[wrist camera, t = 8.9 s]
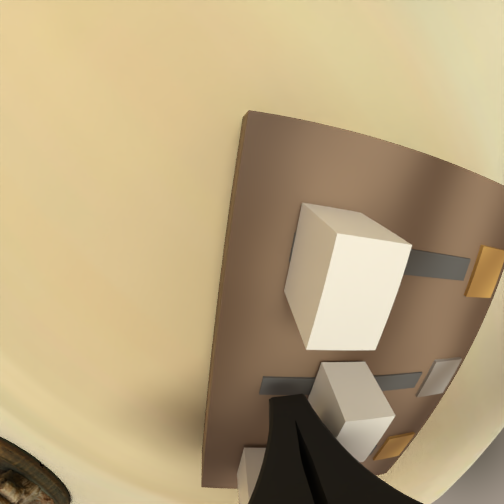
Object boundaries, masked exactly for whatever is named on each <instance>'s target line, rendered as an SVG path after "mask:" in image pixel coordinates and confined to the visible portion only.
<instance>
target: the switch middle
mask: <svg viewBox="0 0 504 504" xmlns="http://www.w3.org/2000/svg"><path fill="white" fill-rule="evenodd" d="M308 401H309V403H310V405H311V406H312V408H313V409H314V411H315V412H316V414H317V415H318V416H319V418H320V419H321V421H322V422H323V423H324V425H325V426H326V427H327V428H328V430H329V431H330V432H331V433H332V434H333V436H334V437H335V438H336V439H337V440H338V441H339V442H340V444H341V445H342V446H343V447H344V448H345V449H346V450H347V451H348V452H349V453H350V454H351V455H352V456H353V457H354V458H355V459H356V460H357V461H359V462H364V461H365V460H366V458H367V457H368V456H369V454H370V453H371V451H372V450H373V449H374V447H375V446H376V444H377V443H378V441H379V440H380V439H381V437H382V436H383V434H384V433H385V431H386V430H387V428H388V427H389V425H390V423H391V422H392V420H393V419H394V417H395V416H396V415H395V414H394V412H393V410H392V408H391V406H390V405H389V403H388V401H387V399H386V397H385V396H384V394H383V392H382V390H381V388H380V387H379V385H378V383H377V381H376V380H375V378H374V376H373V374H372V373H371V371H370V369H369V367H368V366H367V364H366V362H321V365H320V368H319V371H318V373H317V376H316V379H315V382H314V384H313V387H312V390H311V392H310V395H309V398H308Z"/></svg>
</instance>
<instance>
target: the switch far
mask: <svg viewBox="0 0 504 504" xmlns="http://www.w3.org/2000/svg"><path fill="white" fill-rule="evenodd" d="M265 450H266V448H245V447H244V450H243V453H242V457H241V461H240V465H239V468H238V472H237V482H238V495H239V504H248V502H249V500H250V498H251V495H252V493H253V490H254V487H255V485H256V482H257V479H258V476H259V473H260V469H261V466H262V462H263V458H264V454H265Z"/></svg>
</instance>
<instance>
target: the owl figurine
mask: <svg viewBox="0 0 504 504" xmlns="http://www.w3.org/2000/svg"><path fill="white" fill-rule="evenodd" d="M42 467H43V468H42ZM42 467H41V466H40V462H39V461H38V460H37V459H36V458H34V457H33V456H32V455H30V454H29V453H27V452H26V451H24V450H22V449H20V448H19V447H18V446H16V445H14V444H12V443H10V442H9V441H7V440H5V439H3V438H1V437H0V504H70V501H71V500H70V495H69V492H68V491H67V489H66V487H65V486H64V484H63V483H62V482H61V481H60V479H59V478H58V477H57V476H56V475H55V474H54V473H53V472H51V471H50V470H49V469H48V468H47V467H45V466H42Z"/></svg>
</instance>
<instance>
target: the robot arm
mask: <svg viewBox="0 0 504 504" xmlns="http://www.w3.org/2000/svg"><path fill="white" fill-rule="evenodd" d="M248 504H423V503H421V502H419V501H416V500H414V499H412V498H410V497H409V496H407V495H405V494H403V493H401V492H400V491H398V490H396V489H395V488H393V487H392V486H390V485H389V484H387V483H386V482H384V481H383V480H381V479H380V478H378V477H377V476H375V475H374V474H373V473H372V472H370V471H369V470H368V469H367V468H365V467H364V466H363V465H362V464H361V463H360V462H359V461H357V460H356V459H355V458H354V457H353V456H352V455H351V454H350V453H349V452H348V451H347V450H346V449H345V448H344V447H343V446H342V445H341V444H340V442H339V441H338V440H337V439H336V438H335V437H334V436H333V434H332V433H331V432H330V431H329V430H328V428H327V427H326V426H325V425H324V423H323V422H322V421H321V419H320V418H319V416H318V415H317V414H316V412H315V411H314V409H313V408H312V406H311V405H310V403H309V401H308V400H307V398H306V396H305V395H304V394H295V395H287V396H279V397H272V398H270V399H269V433H268V440H267V446H266V450H265V454H264V458H263V462H262V466H261V469H260V473H259V476H258V479H257V482H256V485H255V487H254V490H253V493H252V495H251V498H250V500H249V502H248Z"/></svg>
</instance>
